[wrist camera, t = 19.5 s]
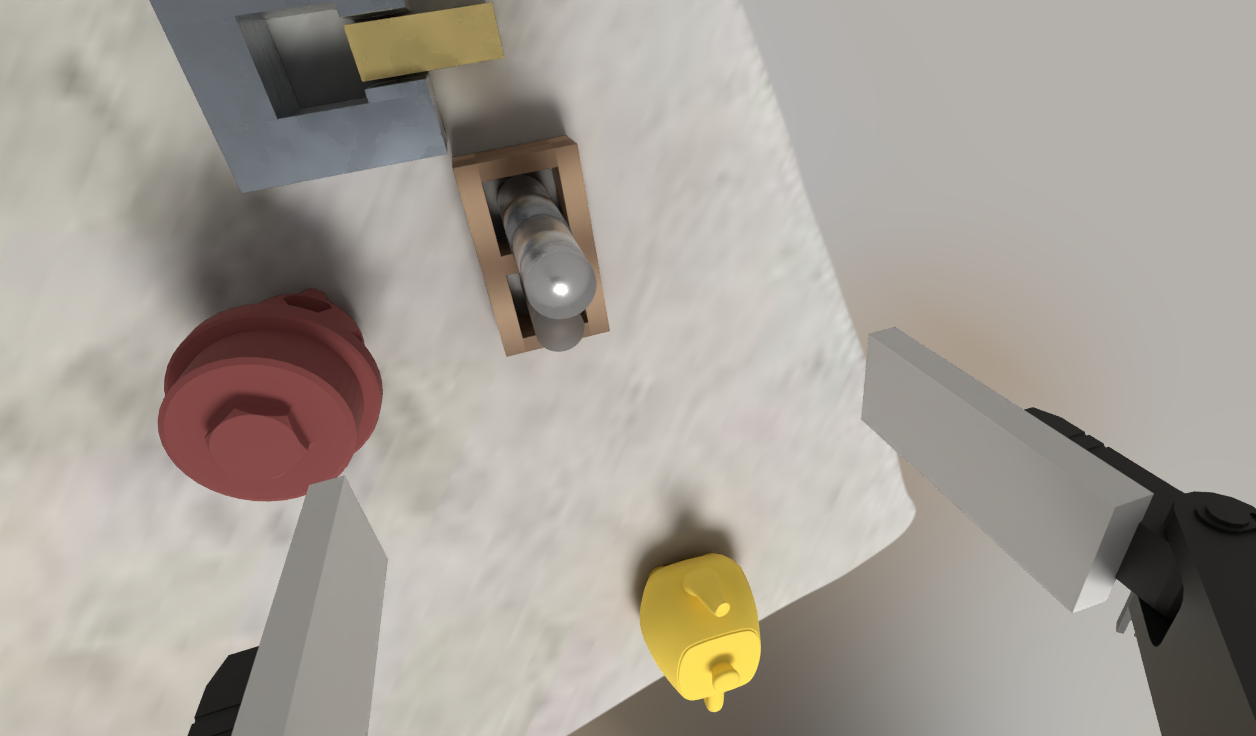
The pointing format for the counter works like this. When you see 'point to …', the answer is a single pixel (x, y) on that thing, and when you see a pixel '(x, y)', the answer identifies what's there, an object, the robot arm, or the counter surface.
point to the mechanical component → (270, 398)
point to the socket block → (293, 96)
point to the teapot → (702, 626)
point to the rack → (497, 253)
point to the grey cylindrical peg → (545, 250)
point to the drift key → (424, 41)
